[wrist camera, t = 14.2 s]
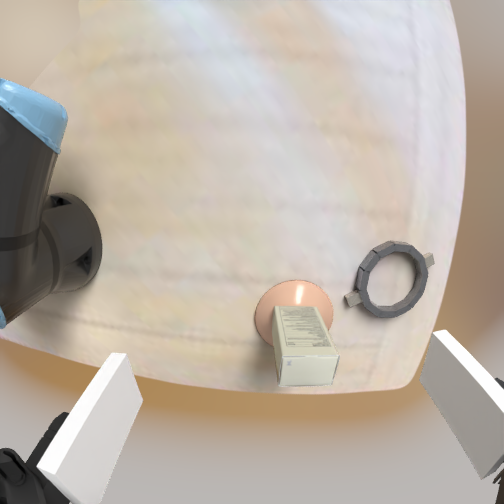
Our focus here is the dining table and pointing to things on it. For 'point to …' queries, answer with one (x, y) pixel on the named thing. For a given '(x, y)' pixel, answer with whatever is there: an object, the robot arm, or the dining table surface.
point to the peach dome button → (291, 304)
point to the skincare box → (303, 347)
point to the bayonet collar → (369, 264)
